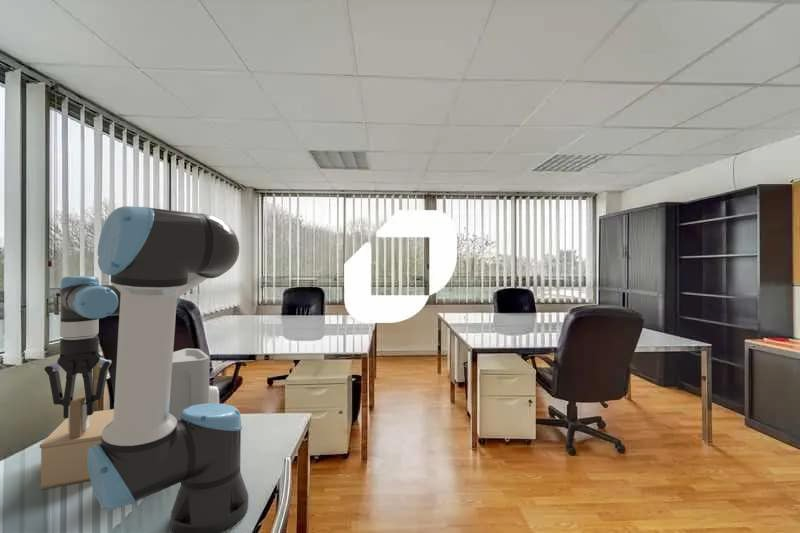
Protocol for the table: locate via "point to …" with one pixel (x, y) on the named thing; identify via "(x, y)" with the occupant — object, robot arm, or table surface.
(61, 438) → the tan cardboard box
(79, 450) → the tan rectangular open box
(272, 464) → the table surface
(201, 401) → the grey tapered bin
